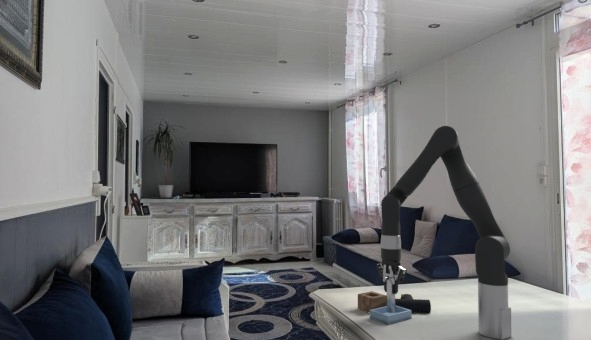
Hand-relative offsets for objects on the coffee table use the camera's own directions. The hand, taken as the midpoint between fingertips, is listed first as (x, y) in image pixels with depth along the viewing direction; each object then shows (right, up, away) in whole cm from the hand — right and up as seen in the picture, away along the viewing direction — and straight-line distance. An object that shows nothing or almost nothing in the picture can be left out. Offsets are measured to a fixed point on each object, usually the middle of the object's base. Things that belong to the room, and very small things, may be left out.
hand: (390, 292), depth 153 cm
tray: (0, -10, 0) cm, 10 cm away
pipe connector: (+10, -11, +12) cm, 19 cm away
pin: (0, -7, 0) cm, 7 cm away
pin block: (-5, -10, +10) cm, 15 cm away
